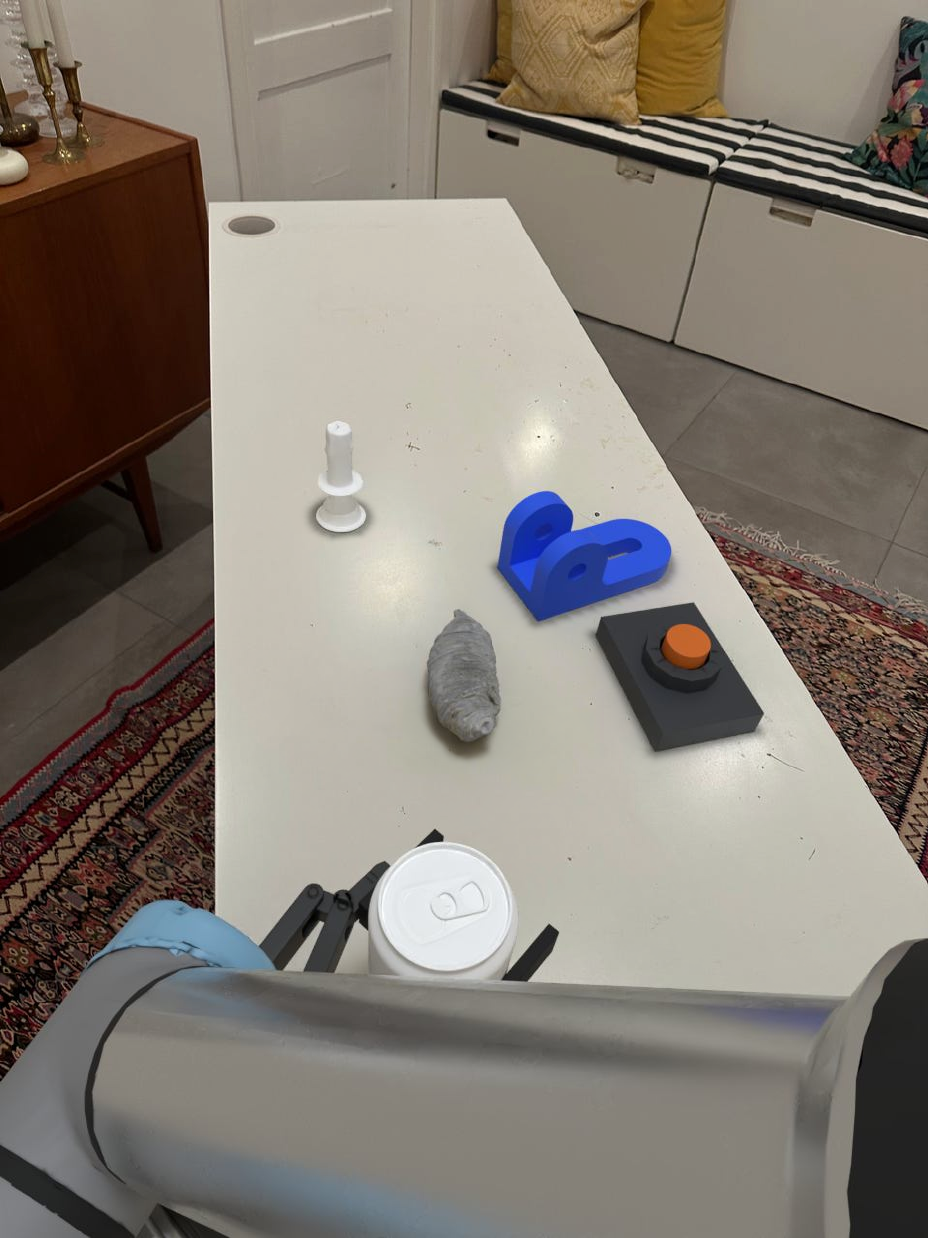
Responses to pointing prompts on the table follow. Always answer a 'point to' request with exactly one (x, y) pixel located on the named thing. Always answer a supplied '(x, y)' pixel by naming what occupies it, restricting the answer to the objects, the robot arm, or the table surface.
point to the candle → (340, 482)
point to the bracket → (575, 556)
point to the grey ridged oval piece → (464, 678)
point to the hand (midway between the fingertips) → (492, 889)
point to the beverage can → (442, 916)
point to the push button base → (676, 680)
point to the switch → (686, 646)
